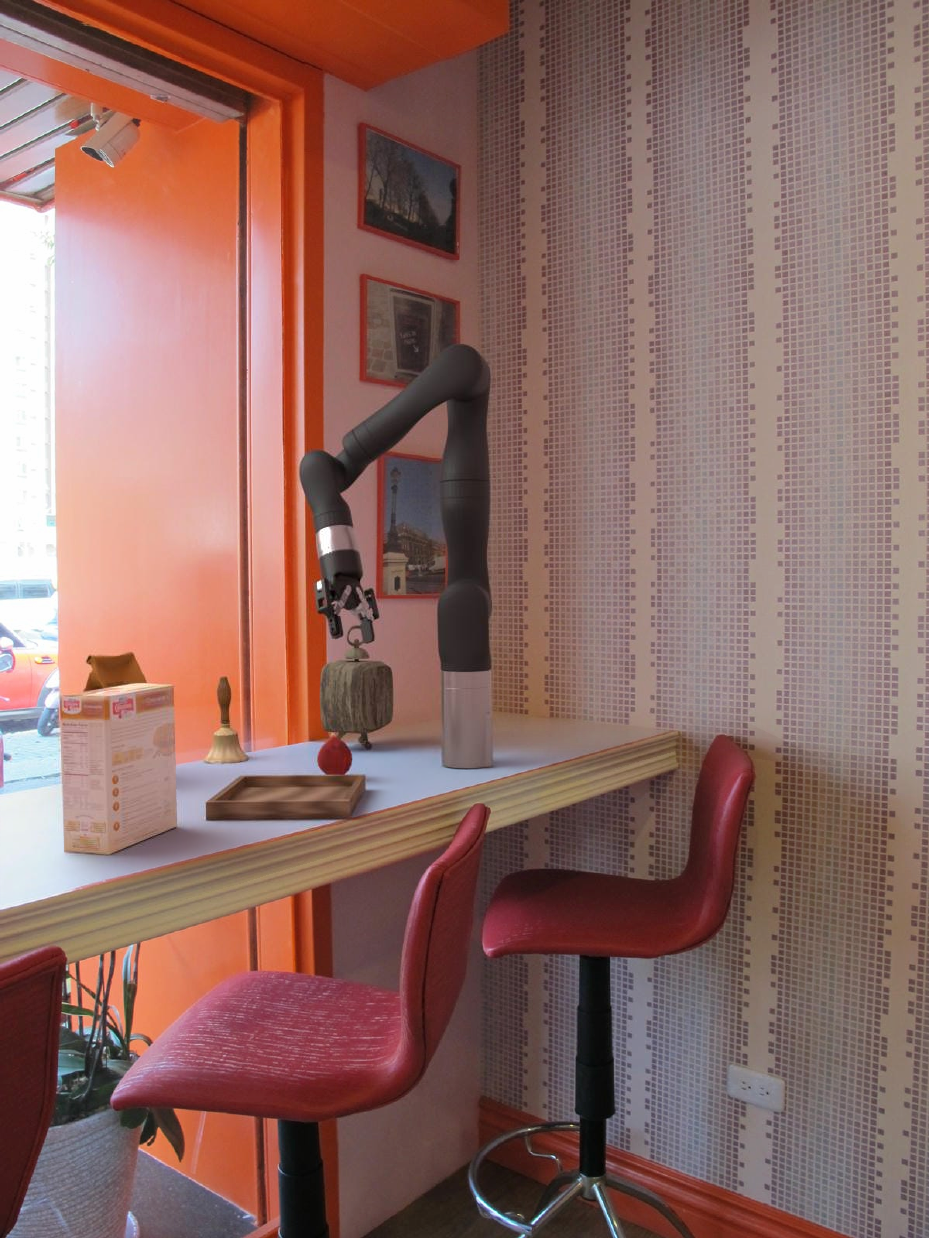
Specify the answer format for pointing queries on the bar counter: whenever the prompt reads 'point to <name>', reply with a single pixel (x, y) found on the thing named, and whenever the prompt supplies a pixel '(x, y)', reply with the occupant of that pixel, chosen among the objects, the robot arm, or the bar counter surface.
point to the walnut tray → (287, 797)
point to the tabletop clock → (356, 694)
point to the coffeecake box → (117, 766)
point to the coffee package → (113, 671)
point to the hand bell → (225, 732)
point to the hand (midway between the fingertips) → (353, 640)
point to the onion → (334, 757)
